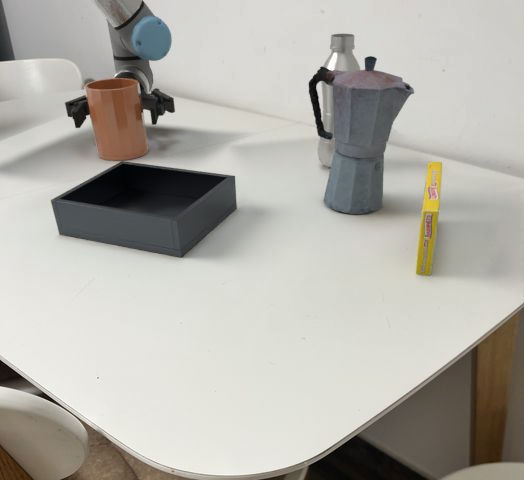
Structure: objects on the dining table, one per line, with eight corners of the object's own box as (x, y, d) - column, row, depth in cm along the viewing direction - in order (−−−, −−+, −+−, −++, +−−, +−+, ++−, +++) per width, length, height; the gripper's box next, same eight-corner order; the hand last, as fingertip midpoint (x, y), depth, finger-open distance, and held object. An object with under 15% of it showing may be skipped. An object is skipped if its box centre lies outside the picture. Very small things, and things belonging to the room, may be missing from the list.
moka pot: (388, 224, 79) (406, 66, 67) (290, 205, 85) (290, 57, 73) (410, 200, 86) (430, 52, 74) (317, 184, 92) (321, 45, 80)
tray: (59, 234, 79) (50, 200, 76) (127, 192, 91) (121, 160, 88) (181, 257, 73) (176, 221, 70) (236, 208, 85) (235, 175, 82)
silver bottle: (347, 157, 102) (355, 30, 90) (360, 170, 97) (370, 37, 84) (312, 161, 101) (315, 33, 89) (323, 174, 96) (329, 40, 83)
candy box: (419, 219, 80) (428, 160, 75) (435, 220, 80) (445, 161, 75) (412, 274, 68) (422, 208, 63) (431, 276, 67) (442, 210, 62)
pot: (87, 157, 106) (73, 88, 99) (117, 142, 113) (105, 76, 105) (130, 163, 103) (118, 91, 95) (157, 147, 109) (148, 79, 102)
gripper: (191, 107, 121) (187, 136, 104) (72, 112, 120) (49, 143, 103) (187, 68, 116) (182, 92, 99) (64, 73, 115) (38, 99, 98)
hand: (114, 118), depth 101 cm, fingers open, 13 cm apart
